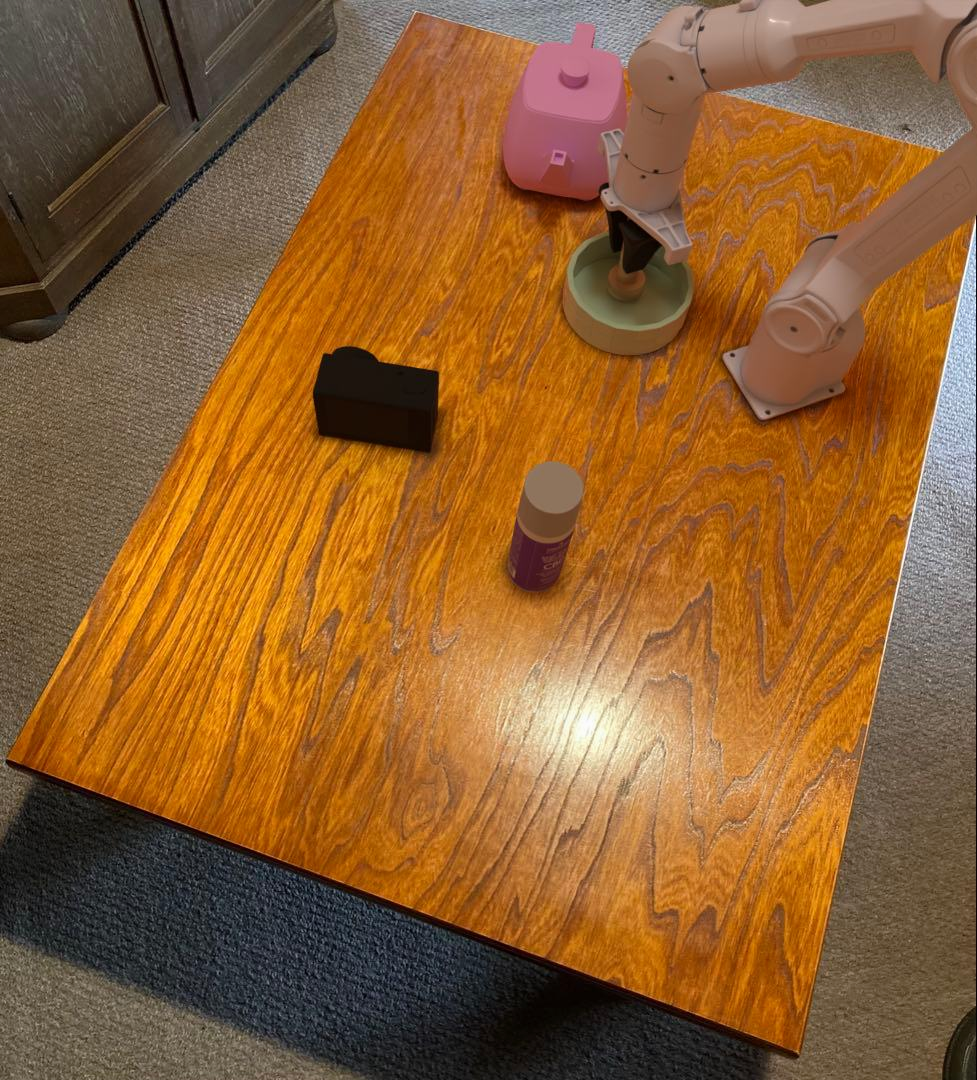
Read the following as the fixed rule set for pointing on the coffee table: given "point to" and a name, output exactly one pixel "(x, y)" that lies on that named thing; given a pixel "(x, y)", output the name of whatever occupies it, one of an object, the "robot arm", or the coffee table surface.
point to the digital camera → (375, 400)
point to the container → (544, 526)
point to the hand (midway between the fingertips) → (627, 258)
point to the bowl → (625, 321)
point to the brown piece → (625, 282)
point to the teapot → (564, 117)
